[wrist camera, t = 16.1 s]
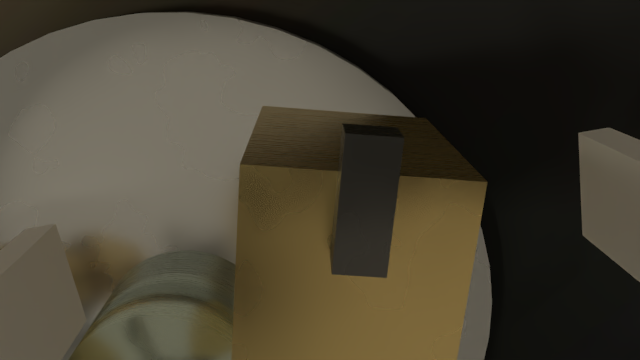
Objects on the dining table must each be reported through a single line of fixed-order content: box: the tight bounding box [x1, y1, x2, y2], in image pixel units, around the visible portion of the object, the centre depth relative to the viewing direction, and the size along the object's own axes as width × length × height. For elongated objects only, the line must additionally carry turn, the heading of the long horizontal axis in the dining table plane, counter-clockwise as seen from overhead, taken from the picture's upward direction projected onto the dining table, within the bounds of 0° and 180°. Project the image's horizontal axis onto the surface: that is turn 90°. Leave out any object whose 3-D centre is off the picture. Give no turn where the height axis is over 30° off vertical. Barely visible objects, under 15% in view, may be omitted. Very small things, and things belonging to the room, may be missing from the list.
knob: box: [231, 106, 487, 360], centre depth 15 cm, size 6×5×9 cm
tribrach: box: [0, 11, 492, 360], centre depth 20 cm, size 22×22×6 cm
